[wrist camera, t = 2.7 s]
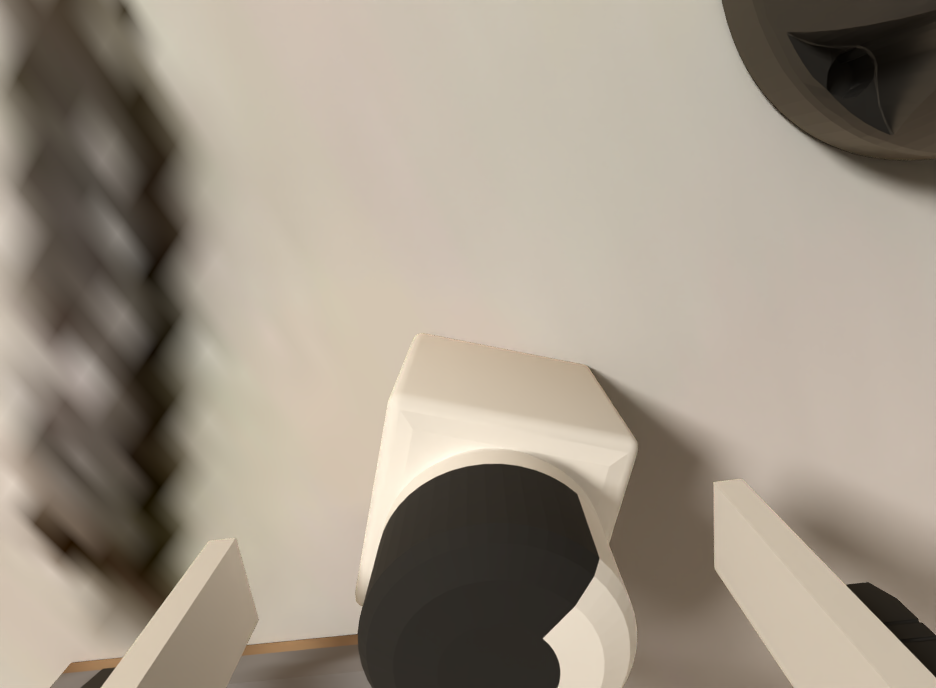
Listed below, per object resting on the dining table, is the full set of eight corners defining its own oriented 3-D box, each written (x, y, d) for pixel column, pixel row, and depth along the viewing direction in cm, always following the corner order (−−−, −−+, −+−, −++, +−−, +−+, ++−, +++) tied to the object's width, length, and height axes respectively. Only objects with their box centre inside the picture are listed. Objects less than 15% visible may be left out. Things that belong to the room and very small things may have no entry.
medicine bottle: (386, 487, 23) (303, 776, 12) (415, 329, 22) (348, 489, 10) (549, 517, 24) (621, 826, 12) (591, 363, 22) (724, 557, 10)
